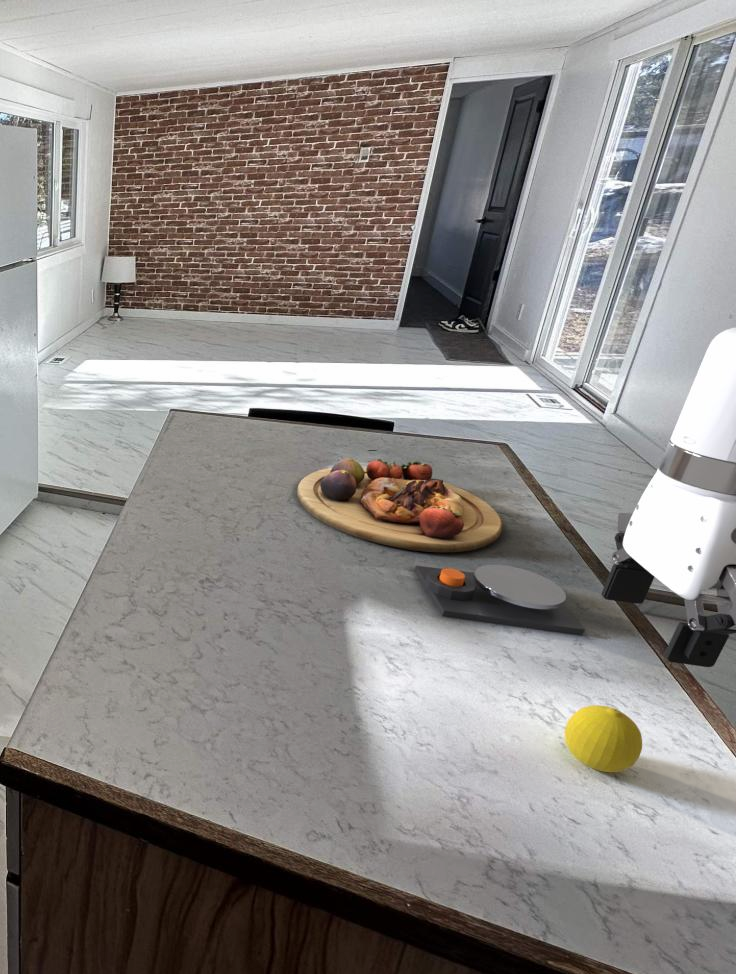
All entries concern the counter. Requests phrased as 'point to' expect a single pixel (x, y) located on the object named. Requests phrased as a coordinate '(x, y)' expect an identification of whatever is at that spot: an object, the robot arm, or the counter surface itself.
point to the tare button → (452, 577)
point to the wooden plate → (399, 507)
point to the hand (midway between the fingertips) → (652, 629)
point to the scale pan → (519, 587)
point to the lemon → (603, 738)
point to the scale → (491, 605)
